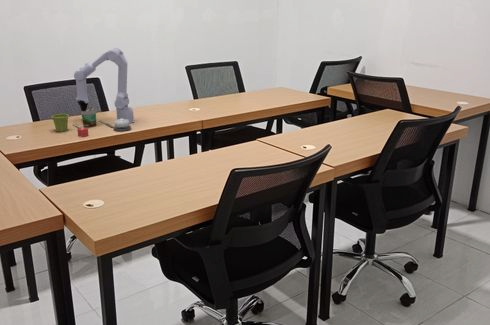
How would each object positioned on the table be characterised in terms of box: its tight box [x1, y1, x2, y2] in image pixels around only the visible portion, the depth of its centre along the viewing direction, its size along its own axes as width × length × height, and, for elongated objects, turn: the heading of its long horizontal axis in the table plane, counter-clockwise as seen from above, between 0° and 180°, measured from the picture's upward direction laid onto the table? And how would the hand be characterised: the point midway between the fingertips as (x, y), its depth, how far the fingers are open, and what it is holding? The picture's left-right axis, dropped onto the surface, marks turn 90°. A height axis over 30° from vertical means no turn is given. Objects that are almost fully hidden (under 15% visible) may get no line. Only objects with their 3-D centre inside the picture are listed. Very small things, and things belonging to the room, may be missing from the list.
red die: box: [76, 126, 90, 138], centre depth 273 cm, size 4×4×4 cm
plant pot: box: [50, 113, 70, 133], centre depth 283 cm, size 9×9×9 cm
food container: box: [80, 106, 98, 128], centre depth 293 cm, size 12×6×10 cm, turn 168°
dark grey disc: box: [112, 125, 132, 133], centre depth 287 cm, size 10×10×1 cm
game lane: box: [72, 119, 115, 129], centre depth 293 cm, size 18×20×1 cm
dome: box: [114, 118, 130, 127], centre depth 286 cm, size 8×8×4 cm
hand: (84, 112), depth 302 cm, fingers closed
